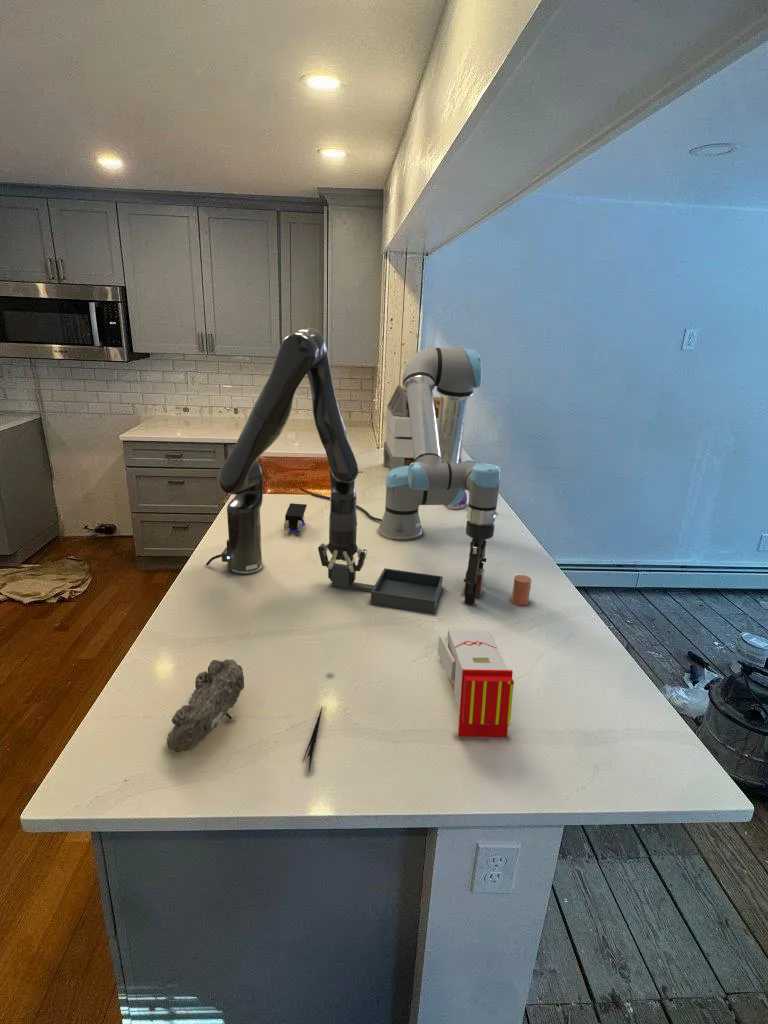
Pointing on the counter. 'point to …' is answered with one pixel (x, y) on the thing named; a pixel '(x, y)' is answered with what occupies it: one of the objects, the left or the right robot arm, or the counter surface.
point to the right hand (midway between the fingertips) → (473, 592)
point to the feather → (313, 740)
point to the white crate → (402, 431)
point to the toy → (478, 682)
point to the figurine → (460, 503)
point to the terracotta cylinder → (521, 590)
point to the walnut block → (478, 582)
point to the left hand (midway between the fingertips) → (341, 580)
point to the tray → (395, 588)
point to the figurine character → (295, 517)
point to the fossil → (206, 705)
